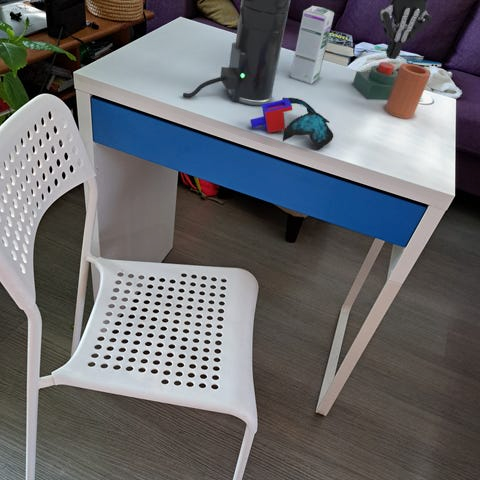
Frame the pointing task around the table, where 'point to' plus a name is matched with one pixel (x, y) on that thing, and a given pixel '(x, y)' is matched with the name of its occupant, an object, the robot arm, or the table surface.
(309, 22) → the syrup box
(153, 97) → the table surface
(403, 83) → the jar
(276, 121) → the toy building block
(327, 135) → the butterfly
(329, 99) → the table surface
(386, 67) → the button
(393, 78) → the green button base
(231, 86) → the robot arm
